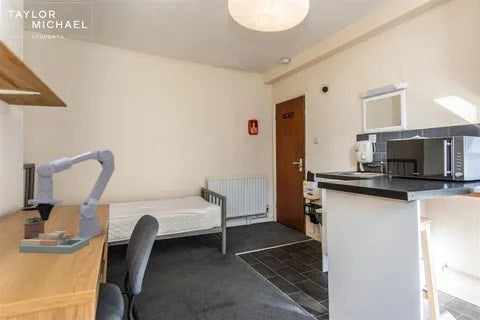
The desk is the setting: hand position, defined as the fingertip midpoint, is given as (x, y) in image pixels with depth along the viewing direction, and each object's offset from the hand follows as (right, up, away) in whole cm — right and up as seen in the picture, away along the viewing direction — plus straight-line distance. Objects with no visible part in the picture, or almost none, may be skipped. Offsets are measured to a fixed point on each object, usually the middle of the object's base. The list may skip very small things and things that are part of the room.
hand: (45, 220), depth 120 cm
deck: (+9, -11, -6) cm, 15 cm away
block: (+9, -8, -6) cm, 13 cm away
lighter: (-12, -11, +9) cm, 18 cm away
